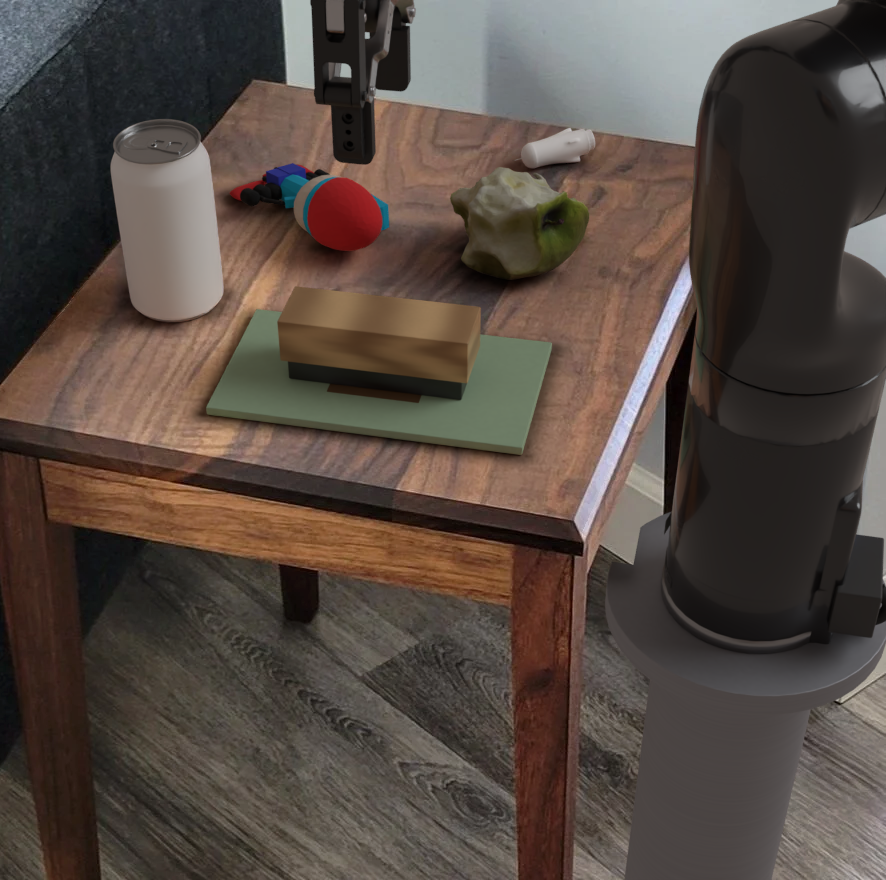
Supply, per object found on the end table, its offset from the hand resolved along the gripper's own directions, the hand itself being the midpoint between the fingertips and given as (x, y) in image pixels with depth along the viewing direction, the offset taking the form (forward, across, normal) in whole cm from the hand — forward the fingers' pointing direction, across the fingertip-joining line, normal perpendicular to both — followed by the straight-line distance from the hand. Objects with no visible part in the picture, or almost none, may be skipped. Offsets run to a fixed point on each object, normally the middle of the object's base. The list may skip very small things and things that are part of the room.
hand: (373, 122), depth 92 cm
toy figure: (+18, +18, +9) cm, 27 cm away
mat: (+18, 0, 0) cm, 18 cm away
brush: (+18, 0, 0) cm, 18 cm away
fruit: (+18, +16, -6) cm, 25 cm away
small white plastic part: (+16, +28, -7) cm, 33 cm away
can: (+18, +6, +16) cm, 25 cm away
